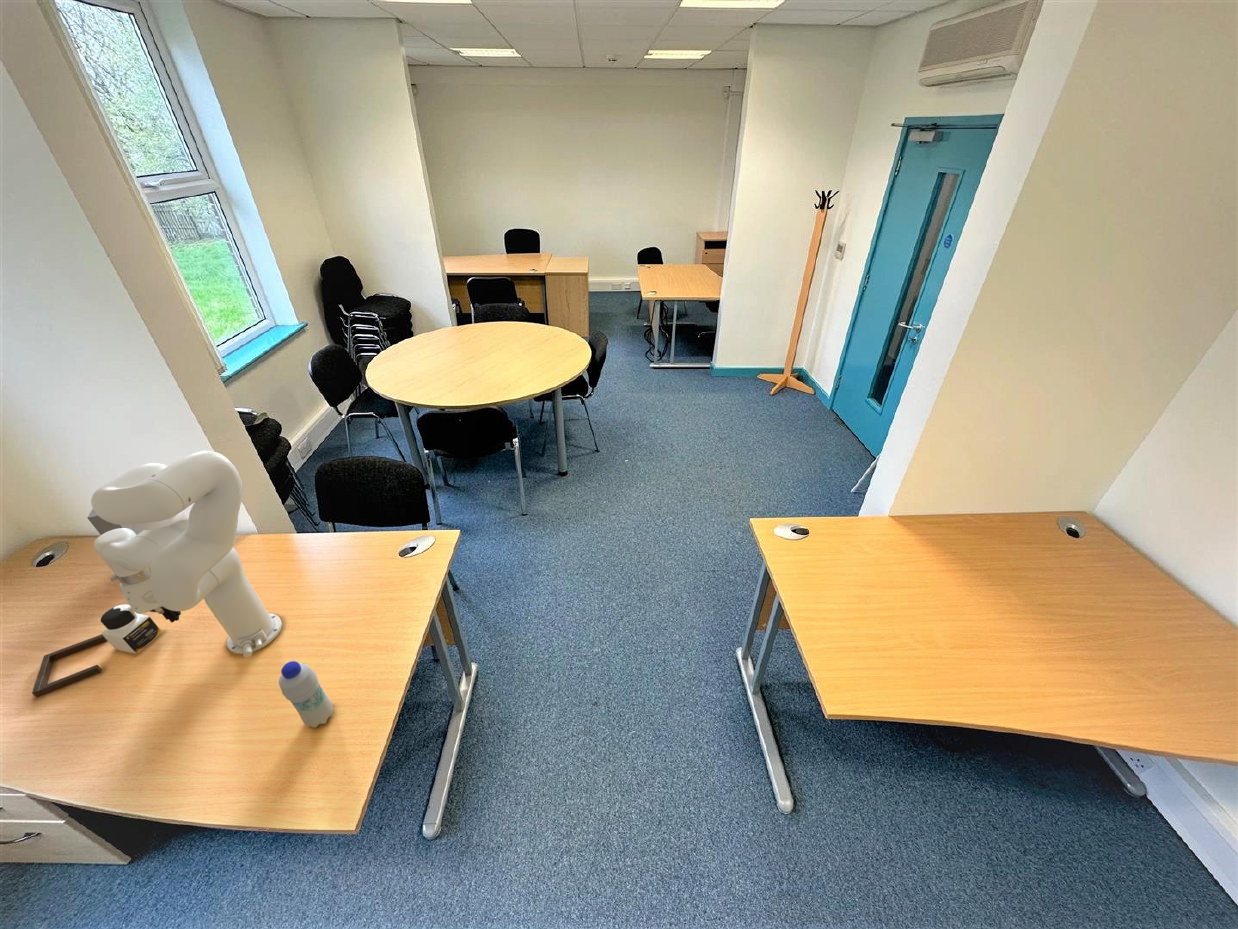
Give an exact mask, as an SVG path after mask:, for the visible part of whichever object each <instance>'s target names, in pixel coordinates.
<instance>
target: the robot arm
mask: <svg viewBox="0 0 1238 929" xmlns="http://www.w3.org/2000/svg"><path fill="white" fill-rule="evenodd" d="M243 486H244V485H243V481H242V477H241V475H240V473H239V471H238V470H237V468H236V467H235V465H234V463H232V462H231V461H230V459H228V458H227V457H226V456H225V455H223V454H222V453H220V452H217V451H212V450H200V451H197V452H192V453H189V454H188V455H186V456H183V457H181V458H179V459H178V460H176V461H174V462H172V463H171V464H169V465H166V464H164V463H159V462H149V463H143V464H141V465H138V466H136V467H133V468H132V469H130V470H128V471H126V472H125V473H122V474H120V475H119V476H117V477H115V478H114V479H113V480H111V481H109V482H107V483H105V484H104V485H102V486H101V487H99V488H97V489H96V490H95V491H94V493H93V494H92V495H91V500H90V503H91V508H92V509H93V510H94V511H95V513H96V514H97V515H98V516H99V517H101V518H102V519H103V520H105V521H107V522H110V523H113V524H118V525H129V526H131V527H133V528H136V529H140V530H143V531H142V532H141V533H139V534H138V535H136V534H135V533H134V531H132V530H130V529H127V528H118V529H114V530H111V531H108V532H106V533H104V534H102V535H99V536H98V537H97V538H96V539H95V540H94V542H93V548H94V550H95V551H96V553H97V554H98V555H99V556H100V558H101V559H102V560H103V562H105V563H106V565H107V566H108V567H109V569H111V571H112V572H113V573H114V574H113V575H110V576H109V579H110V581H111V582H114V581H119V584H118V586H119V589H120V592H121V593H122V596H123V597H124V599H125V601H126V602H127V605H130V607H131V608H132V609H133V611H134V612H136V613H137V614H144V613H157V614H158V615H162V617H163V618H164V619H165V620H166V621H169V622H170V623H171V624H172V623H174V622H175V621H176V622H177V621H179V620H180V616H181V615H182V612H184V611H189V610H191V609H193V608H195V607H196V606H197V605H198V604H200V603H201V602H202V601H203V600H204V602H205V604H206V606H207V607H208V608H209V610H210V611H211V613H212V614H213V615H214V617H215V619H216V620H217V621H218V622H219V624H220V625H221V627H222V628H223V629H224V631H225V632H226V634H227V635H228V637H227V640H226V646H227V649H228V650H229V651H230V652H231V653H233V654H236V655H242V656H243V657H244V658H249V657H251V656H253V653H254V652H256V651H258V650H261V649H263V648H264V647H266V646H267V645H269V644H270V643H271V642H273V641H274V640H275V639H276V638H277V637H278V635H279V634H280V632H281V630H282V626H283V621H282V620H281V618H280V617H279V616H278V615H277V614H275V613H269V612H268V610H267V608H266V607H265V605H264V603H263V602H262V600H261V599H260V597H259V595H258V594H257V592H256V590H255V589H254V587H253V586H252V584H251V582H250V580H249V578H248V577H247V575H246V573H245V571H244V569H243V564H242V561H241V558H240V555H239V552H237V550H236V549H235V547H234V546H235V543H236V540H237V531H238V522H239V514H240V508H241V504H242V500H243V492H244V487H243ZM190 506H192V507H191V508H190V511H189V514H187V513H186V512H185V510H186V509H188V508H189V507H190Z"/></svg>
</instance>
